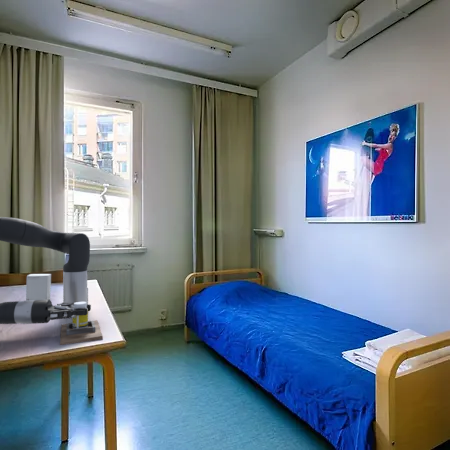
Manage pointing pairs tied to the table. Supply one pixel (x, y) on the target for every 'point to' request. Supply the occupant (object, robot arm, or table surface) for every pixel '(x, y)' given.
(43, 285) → the skincare box
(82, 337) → the seat board
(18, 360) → the table surface
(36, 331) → the table surface
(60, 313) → the robot arm
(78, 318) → the supplement bottle
